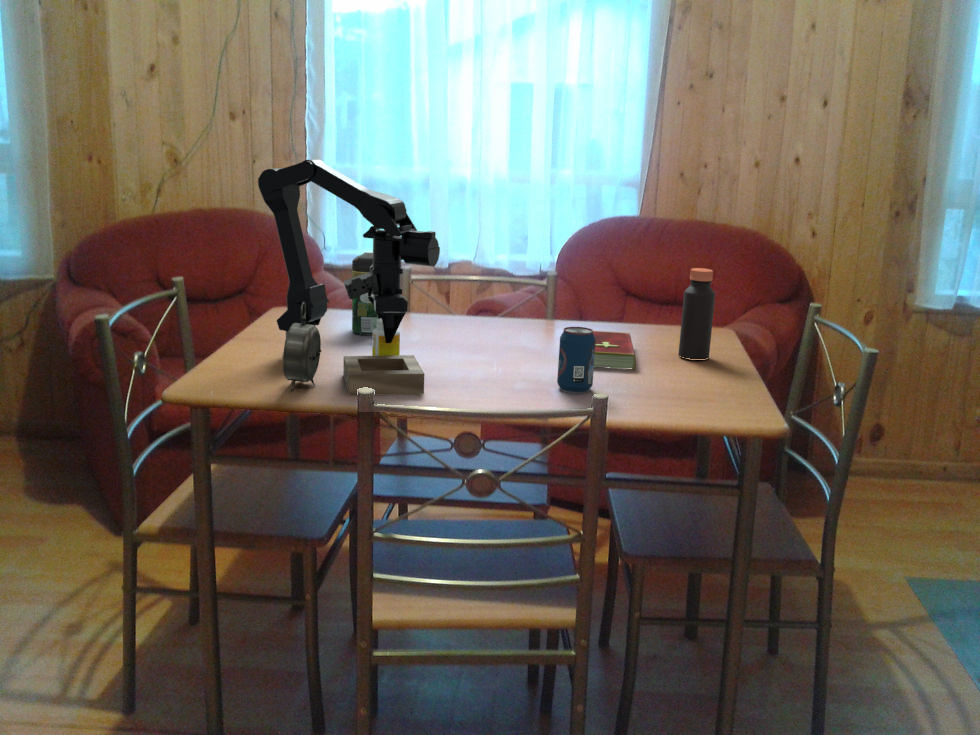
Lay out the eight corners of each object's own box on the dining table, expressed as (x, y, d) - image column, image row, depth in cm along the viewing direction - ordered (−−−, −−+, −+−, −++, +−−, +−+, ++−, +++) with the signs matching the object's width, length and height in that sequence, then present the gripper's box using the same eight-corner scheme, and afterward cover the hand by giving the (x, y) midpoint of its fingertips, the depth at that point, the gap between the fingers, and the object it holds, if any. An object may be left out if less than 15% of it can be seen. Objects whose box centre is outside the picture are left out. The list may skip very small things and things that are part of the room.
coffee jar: (356, 326, 245) (356, 249, 240) (388, 327, 244) (389, 251, 240) (348, 335, 235) (348, 255, 231) (382, 336, 235) (383, 257, 230)
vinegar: (672, 355, 229) (680, 267, 224) (695, 353, 232) (704, 266, 227) (690, 362, 223) (699, 272, 218) (715, 360, 226) (724, 271, 221)
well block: (343, 375, 201) (343, 356, 200) (413, 374, 204) (413, 355, 203) (349, 395, 188) (349, 374, 187) (423, 393, 191) (424, 373, 190)
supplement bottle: (404, 369, 208) (405, 320, 205) (384, 373, 204) (385, 324, 201) (386, 363, 212) (387, 315, 209) (366, 367, 208) (367, 319, 205)
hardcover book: (629, 349, 235) (631, 331, 234) (634, 372, 215) (636, 353, 214) (578, 346, 236) (579, 328, 235) (578, 369, 216) (579, 349, 215)
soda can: (554, 384, 202) (558, 325, 199) (589, 385, 202) (593, 326, 199) (559, 394, 195) (563, 333, 192) (594, 394, 195) (599, 334, 192)
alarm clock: (298, 377, 199) (297, 296, 195) (325, 379, 198) (325, 297, 194) (281, 392, 188) (280, 307, 184) (309, 394, 188) (309, 308, 183)
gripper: (342, 254, 209) (342, 327, 213) (350, 269, 192) (349, 349, 196) (396, 254, 212) (394, 327, 216) (408, 269, 194) (406, 348, 198)
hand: (385, 337), depth 206 cm, fingers open, 9 cm apart
